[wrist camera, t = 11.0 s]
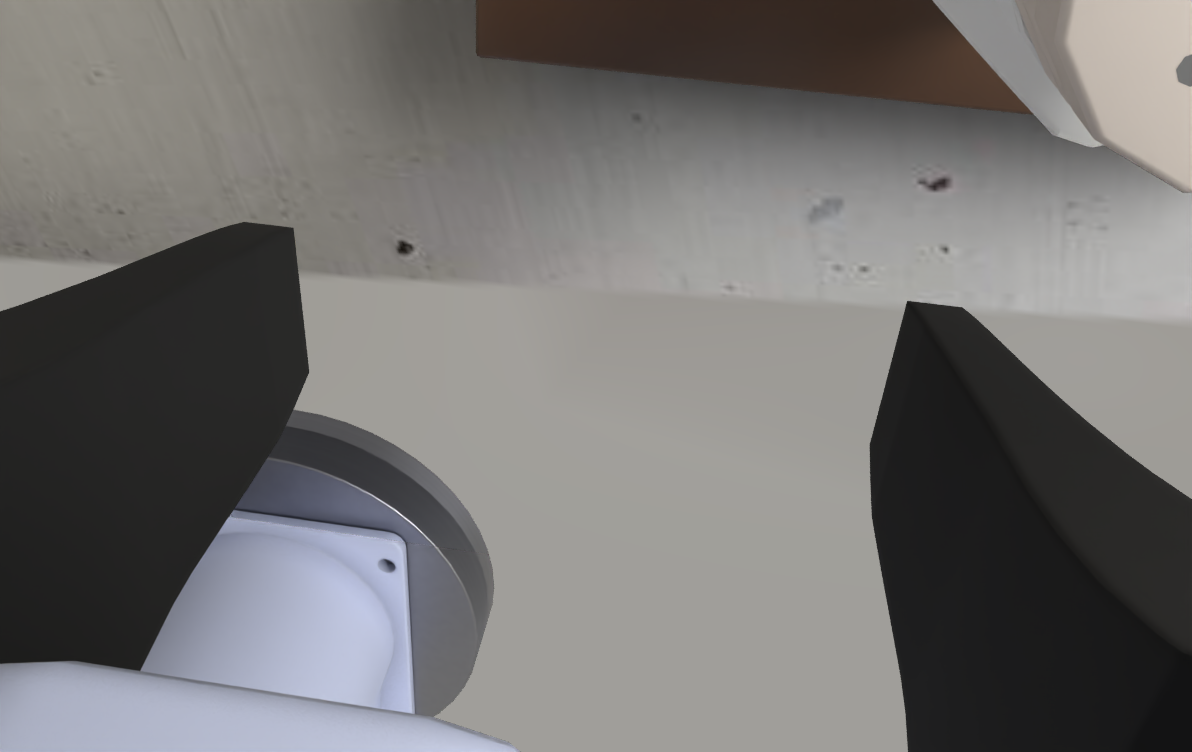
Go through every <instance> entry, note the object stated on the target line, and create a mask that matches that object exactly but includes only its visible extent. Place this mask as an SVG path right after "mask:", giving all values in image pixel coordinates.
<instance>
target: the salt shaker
mask: <svg viewBox="0 0 1192 752" xmlns="http://www.w3.org/2000/svg"><path fill="white" fill-rule="evenodd" d="M932 1H933V2H934V3H935V4H936V5H937V6H938V8H939V9H940V10H941V11H942V12H943V13H944V14H945V16H946V17H947V18H948V19H949V20H950V21H951V22H952V24H953V25H954V26H955V27H956V28H957V29H958V30H959V32H960V33H961V34H962V35H963V36H964V37H965V38H966V40H967V41H968V42H969V43H970V44H971V45H972V46H973V48H974V49H975V50H976V51H977V52H978V53H979V54H980V55H981V57H982V58H983V59H984V60H985V61H986V62H987V63H988V64H989V65H990V67H991V68H992V69H993V70H994V71H995V72H996V73H997V74H998V75H999V77H1000V78H1001V79H1002V80H1003V81H1004V82H1005V83H1006V84H1007V86H1008V87H1009V88H1010V89H1011V90H1012V91H1013V92H1014V93H1015V94H1016V95H1017V97H1018V98H1019V99H1020V100H1021V101H1022V102H1023V103H1024V104H1025V105H1026V106H1027V107H1028V109H1029V110H1030V111H1031V112H1032V113H1033V114H1034V115H1035V116H1036V117H1037V118H1038V119H1039V120H1040V122H1041V123H1042V124H1043V125H1044V126H1045V127H1046V128H1047V129H1048V130H1049V131H1050V132H1051V134H1052V135H1054V136H1057V137H1060V138H1063V139H1066V140H1069V141H1072V142H1075V143H1078V144H1081V145H1084V146H1087V147H1091V148H1092V147H1097V146H1101V145H1104V146H1106V147H1108V148H1109V149H1111V150H1113V151H1114V152H1116V153H1118V154H1119V155H1121V156H1123V157H1124V158H1126V159H1128V160H1129V161H1131V162H1133V163H1134V164H1136V165H1138V166H1139V167H1141V168H1143V169H1144V170H1146V171H1148V172H1149V173H1151V174H1153V175H1154V176H1156V177H1158V178H1159V179H1161V180H1163V181H1164V182H1166V183H1168V184H1169V185H1171V186H1173V187H1174V188H1176V189H1178V190H1179V191H1181V192H1187V193H1192V0H932Z"/></svg>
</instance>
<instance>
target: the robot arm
mask: <svg viewBox="0 0 1192 752" xmlns="http://www.w3.org/2000/svg"><path fill="white" fill-rule="evenodd" d="M308 374H309V366H308V357H307V349H306V339H305V330H304V320H303V311H302V302H301V293H300V284H299V274H298V265H297V256H296V247H295V238H294V229H293V228H290V227H282V226H274V225H265V224H257V223H248V222H242V223H238V224H234V225H230V226H227V227H224V228H220V229H218V230H215V231H212V232H209V233H206V234H204V235H201V236H198V237H195V238H193V239H190V240H188V241H185V242H183V243H180V244H178V245H175V246H173V247H170V248H168V249H165V250H163V251H160V252H158V253H155V254H153V255H150V256H148V257H146V258H143V259H141V260H138V261H136V262H133V263H131V264H128V265H126V266H123V267H121V268H118V269H116V270H113V271H111V272H108V273H106V274H103V275H101V276H98V277H96V278H93V279H90V280H87V281H85V282H82V283H80V284H77V285H74V286H71V287H68V288H66V289H63V290H60V291H58V292H55V293H52V294H49V295H46V296H44V297H41V298H38V299H35V300H33V301H30V302H27V303H24V304H22V305H19V306H16V307H13V308H10V309H7V310H3V311H1V312H0V752H520V751H519V750H518V749H517V748H515V747H514V746H513V745H512V744H511V743H509V742H507V741H504V740H501V739H498V738H495V737H492V736H489V735H486V734H483V733H480V732H477V731H474V730H471V729H468V728H465V727H462V726H459V725H456V724H453V723H450V722H447V721H444V720H441V719H438V718H435V717H431V716H424V715H418V714H415V701H414V682H413V664H412V645H411V626H410V607H409V589H408V570H407V551H406V545H405V542H404V541H403V540H402V538H401V537H399V536H398V535H396V534H394V533H390V532H385V531H378V530H371V529H364V528H357V527H350V526H343V525H336V524H329V523H322V522H315V521H308V520H301V519H294V518H287V517H280V516H273V515H266V514H259V513H252V512H245V511H237V510H234V508H235V507H236V505H237V504H238V502H239V501H240V499H241V498H242V496H243V494H244V493H245V491H246V490H247V488H248V487H249V485H250V484H251V482H252V481H253V479H254V478H255V476H256V474H257V473H258V471H259V470H260V468H261V467H262V465H263V464H264V462H265V460H266V459H267V457H268V456H269V454H270V453H271V451H272V449H273V448H274V446H275V445H276V443H277V441H278V440H279V438H280V437H281V435H282V432H283V430H284V428H285V426H286V424H287V422H288V420H289V418H290V415H291V413H292V411H293V409H294V407H295V404H296V402H297V400H298V397H299V395H300V393H301V390H302V388H303V385H304V383H305V381H306V378H307V376H308ZM870 475H871V476H870V481H871V506H872V519H873V526H874V532H875V538H876V543H877V549H878V554H879V560H880V565H881V571H882V577H883V583H884V588H885V593H886V599H887V604H888V610H889V615H890V620H891V626H892V632H893V637H894V642H895V648H896V653H897V658H898V664H899V670H900V675H901V682H902V689H903V697H904V705H905V713H906V727H907V741H908V752H1192V499H1191V498H1189V497H1188V496H1186V495H1185V494H1183V493H1182V492H1180V491H1179V490H1177V489H1176V488H1174V487H1173V486H1171V485H1170V484H1169V483H1167V482H1166V481H1164V480H1163V479H1161V478H1160V477H1158V476H1157V475H1155V474H1154V473H1152V472H1151V471H1150V470H1148V469H1147V468H1145V467H1144V466H1143V465H1141V464H1140V463H1139V462H1137V461H1136V460H1135V459H1133V458H1132V457H1131V456H1129V455H1128V454H1126V453H1125V452H1124V451H1123V450H1122V449H1120V448H1119V447H1118V446H1117V445H1115V444H1114V443H1113V442H1112V441H1111V440H1109V439H1108V438H1107V437H1106V436H1104V435H1103V434H1102V433H1100V432H1099V431H1098V430H1097V429H1096V428H1095V427H1093V426H1092V425H1091V424H1090V423H1088V422H1087V421H1086V420H1085V419H1084V418H1082V417H1081V416H1080V415H1079V414H1078V413H1077V412H1076V411H1074V410H1073V409H1072V408H1071V407H1070V406H1069V405H1067V404H1066V403H1065V402H1064V401H1063V400H1062V399H1061V398H1060V397H1059V396H1057V395H1056V394H1055V393H1054V392H1053V391H1052V390H1051V389H1050V388H1048V387H1047V386H1046V385H1045V384H1044V383H1043V382H1042V381H1041V380H1040V379H1039V378H1038V377H1037V376H1036V375H1035V374H1034V373H1033V372H1031V371H1030V370H1029V369H1028V368H1027V367H1026V366H1025V365H1024V364H1023V363H1022V362H1021V361H1020V360H1019V359H1018V358H1017V357H1016V356H1015V355H1014V354H1013V353H1012V352H1011V351H1010V350H1008V349H1007V348H1006V347H1005V346H1004V345H1003V344H1002V343H1001V342H1000V341H999V340H998V339H997V338H996V337H995V336H994V335H993V334H992V333H991V332H990V331H989V330H988V329H987V328H985V327H984V326H983V325H982V324H981V323H980V322H979V321H978V320H977V319H976V318H975V317H973V316H972V315H971V314H970V313H969V312H967V311H966V310H965V309H964V308H962V307H954V306H945V305H937V304H928V303H920V302H912V301H907V304H906V308H905V312H904V316H903V320H902V324H901V327H900V331H899V335H898V339H897V342H896V346H895V350H894V354H893V358H892V362H891V366H890V369H889V373H888V377H887V381H886V385H885V388H884V393H883V397H882V400H881V404H880V408H879V411H878V415H877V419H876V423H875V427H874V431H873V435H872V438H871V442H870ZM384 559H387V560H390V561H391V562H393V563H389V562H386V561H385V560H384Z"/></svg>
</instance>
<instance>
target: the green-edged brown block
mask: <svg viewBox="0 0 1192 752" xmlns="http://www.w3.org/2000/svg"><path fill="white" fill-rule="evenodd" d="M476 53H477V56H479V57H483V58H492V59H502V60H511V61H521V62H531V63H540V64H550V65H559V66H569V67H579V68H588V69H598V70H607V71H617V72H627V73H636V74H646V75H655V76H665V77H675V78H684V79H694V80H703V81H713V82H723V83H732V84H742V85H752V86H761V87H771V88H780V89H790V90H800V91H809V92H819V93H828V94H838V95H848V96H857V97H867V98H876V99H886V100H896V101H905V102H915V103H924V104H934V105H944V106H953V107H963V108H973V109H982V110H992V111H1001V112H1011V113H1021V114H1030V115H1034V114H1033V113H1032V112H1031V111H1030V110H1029V109H1028V107H1027V106H1026V105H1025V104H1024V103H1023V102H1022V101H1021V100H1020V99H1019V98H1018V97H1017V95H1016V94H1015V93H1014V92H1013V91H1012V90H1011V89H1010V88H1009V87H1008V86H1007V84H1006V83H1005V82H1004V81H1003V80H1002V79H1001V78H1000V77H999V75H998V74H997V73H996V72H995V71H994V70H993V69H992V68H991V67H990V65H989V64H988V63H987V62H986V61H985V60H984V59H983V58H982V57H981V55H980V54H979V53H978V52H977V51H976V50H975V49H974V48H973V46H972V45H971V44H970V43H969V42H968V41H967V40H966V38H965V37H964V36H963V35H962V34H961V33H960V32H959V30H958V29H957V28H956V27H955V26H954V25H953V24H952V22H951V21H950V20H949V19H948V18H947V17H946V16H945V14H944V13H943V12H942V11H941V10H940V9H939V8H938V6H937V5H936V4H935V3H934V2H933V1H932V0H476Z"/></svg>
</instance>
